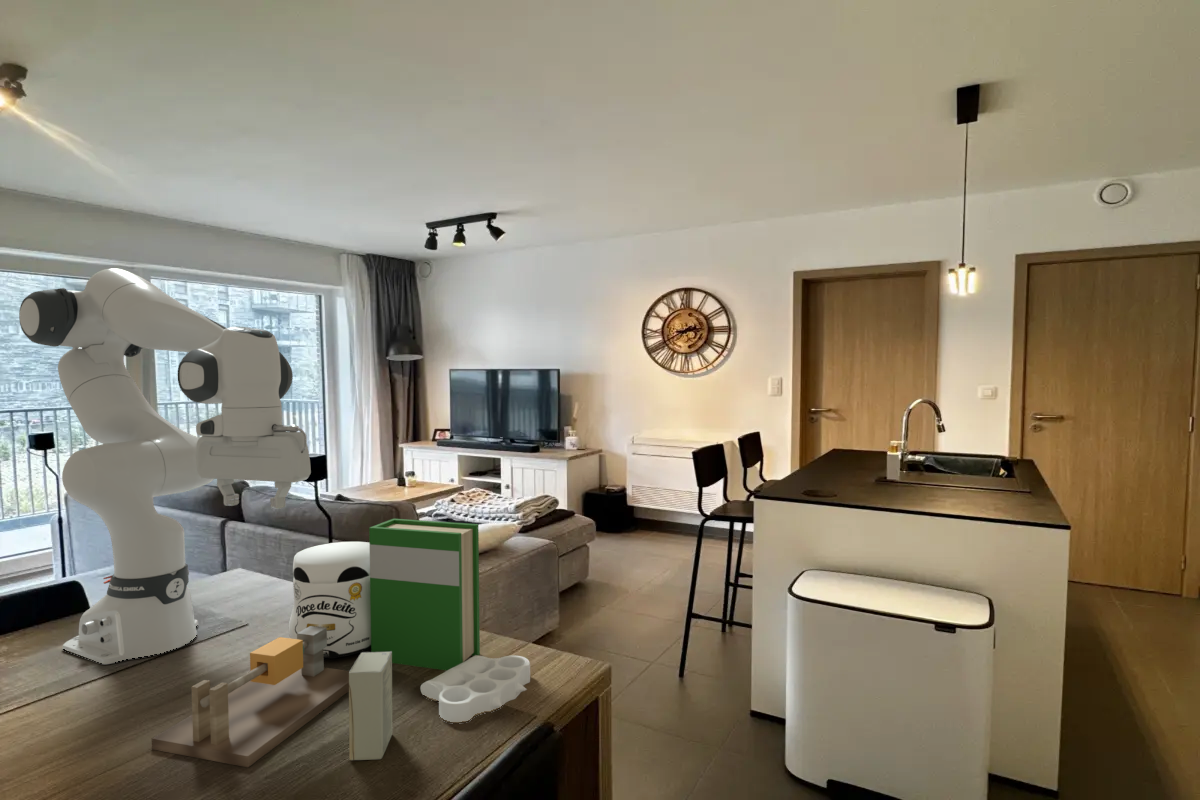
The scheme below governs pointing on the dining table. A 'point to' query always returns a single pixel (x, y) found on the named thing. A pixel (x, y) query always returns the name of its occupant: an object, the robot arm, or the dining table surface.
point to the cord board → (255, 709)
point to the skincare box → (370, 705)
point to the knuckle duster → (478, 686)
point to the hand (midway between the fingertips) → (254, 506)
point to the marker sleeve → (278, 659)
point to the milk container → (334, 595)
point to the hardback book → (425, 592)
